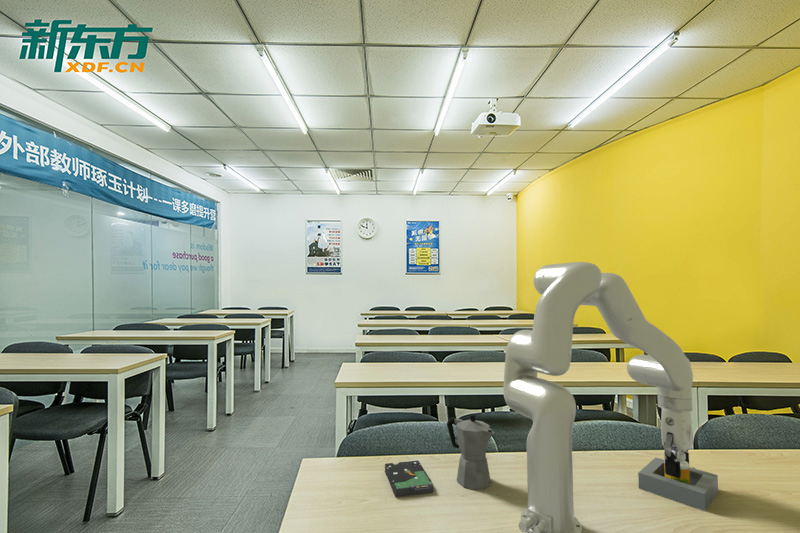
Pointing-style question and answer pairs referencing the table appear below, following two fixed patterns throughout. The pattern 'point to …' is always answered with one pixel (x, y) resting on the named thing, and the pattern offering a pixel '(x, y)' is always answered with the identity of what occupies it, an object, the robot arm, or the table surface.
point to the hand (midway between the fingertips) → (677, 470)
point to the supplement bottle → (681, 469)
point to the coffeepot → (471, 451)
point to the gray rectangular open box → (679, 485)
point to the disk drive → (408, 479)
